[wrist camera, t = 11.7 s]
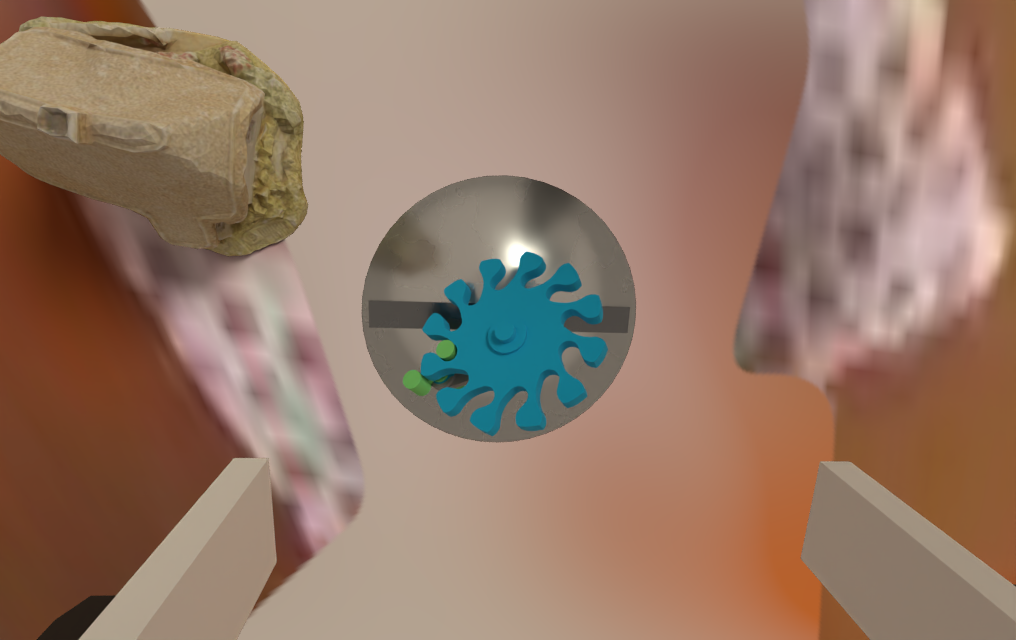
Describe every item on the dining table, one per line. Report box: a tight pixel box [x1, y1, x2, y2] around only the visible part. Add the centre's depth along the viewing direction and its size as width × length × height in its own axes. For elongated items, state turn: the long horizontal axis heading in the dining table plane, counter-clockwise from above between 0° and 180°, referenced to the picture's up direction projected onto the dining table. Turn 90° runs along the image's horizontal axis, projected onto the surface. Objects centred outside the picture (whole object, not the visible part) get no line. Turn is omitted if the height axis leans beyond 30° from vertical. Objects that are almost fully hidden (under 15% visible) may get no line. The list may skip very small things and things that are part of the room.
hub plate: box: [362, 176, 636, 442], centre depth 32 cm, size 16×16×1 cm
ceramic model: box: [0, 17, 308, 256], centre depth 25 cm, size 14×11×10 cm
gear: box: [403, 251, 608, 436], centre depth 30 cm, size 11×6×10 cm
